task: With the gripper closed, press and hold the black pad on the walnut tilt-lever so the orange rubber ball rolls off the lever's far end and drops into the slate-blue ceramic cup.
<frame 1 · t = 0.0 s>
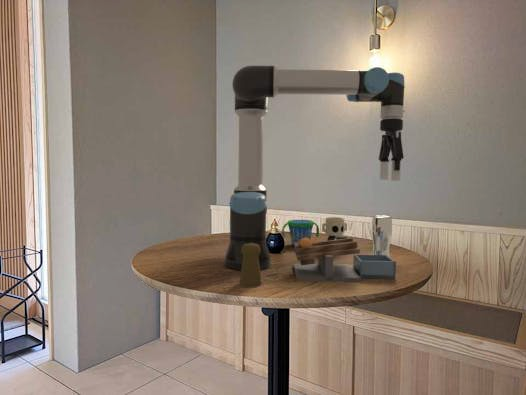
hand: (389, 180, 140), 28 cm above the table, fingers open, 13 cm apart
lever base: (325, 273, 120), on the table
brown upright piece: (250, 284, 108), on the table
character mug: (334, 252, 151), on the table
beer glass: (380, 258, 141), on the table
tilt lever: (323, 247, 123), point 7 cm above the table, hinge at -8.0°, touching ball
ball: (305, 244, 119), point 9 cm above the table, tilted 12°, touching tilt lever
snack cup: (300, 245, 164), on the table
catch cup: (373, 274, 119), on the table
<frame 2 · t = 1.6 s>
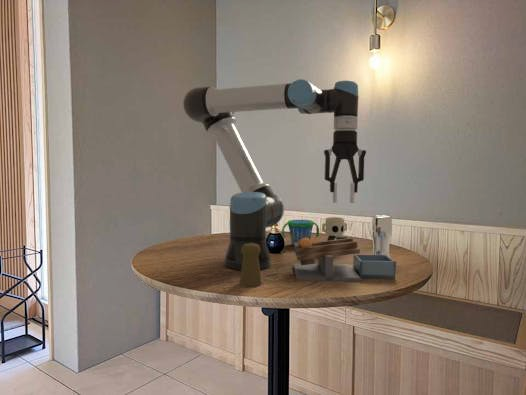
hand: (343, 202, 129), 21 cm above the table, fingers open, 5 cm apart
nothing on the table moved.
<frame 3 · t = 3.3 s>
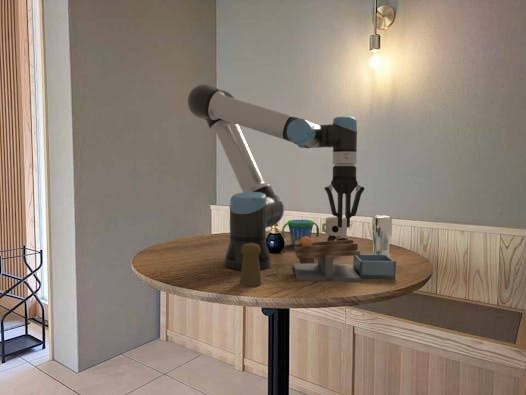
hand: (343, 237, 130), 9 cm above the table, fingers closed
tilt lever: (323, 247, 123), point 7 cm above the table, hinge at -4.2°, touching ball, gripper
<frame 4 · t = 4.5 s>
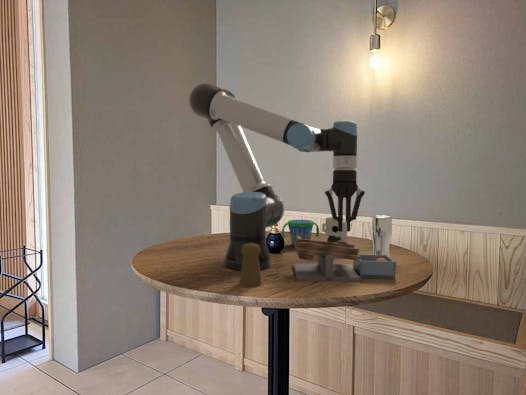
hand: (343, 241, 130), 8 cm above the table, fingers closed
tilt lever: (323, 247, 123), point 7 cm above the table, hinge at 5.9°, touching gripper
ball: (381, 264, 119), point 3 cm above the table, tilted 56°, touching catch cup
everything else where it was.
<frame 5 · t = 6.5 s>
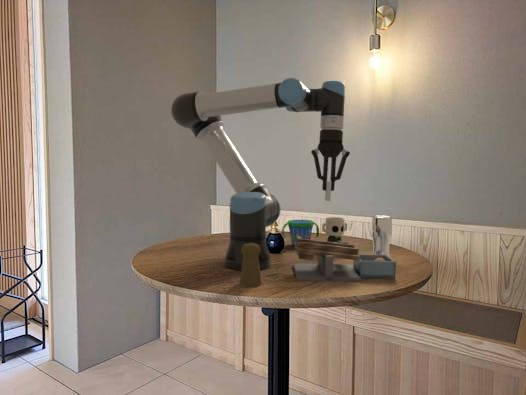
hand: (327, 200, 133), 21 cm above the table, fingers closed
tilt lever: (323, 247, 123), point 7 cm above the table, hinge at 5.9°
ball: (380, 264, 119), point 3 cm above the table, tilted 70°, touching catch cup
everything else where it was.
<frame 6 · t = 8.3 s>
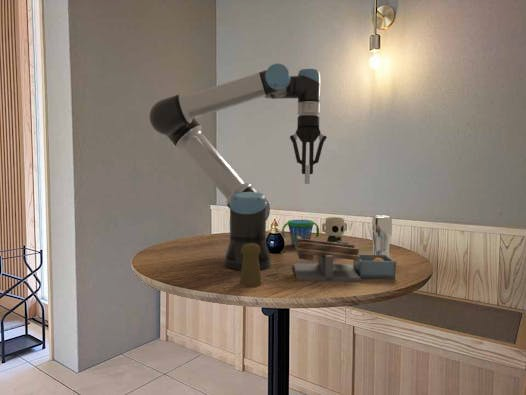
hand: (307, 183, 139), 26 cm above the table, fingers closed
ball: (378, 264, 119), point 3 cm above the table, tilted 82°, touching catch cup
everything else where it was.
at the end: ball inside the target area on the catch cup (1.5 cm from its centre), point 3.0 cm above the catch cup's base; ball moved 22.6 cm from its start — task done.
